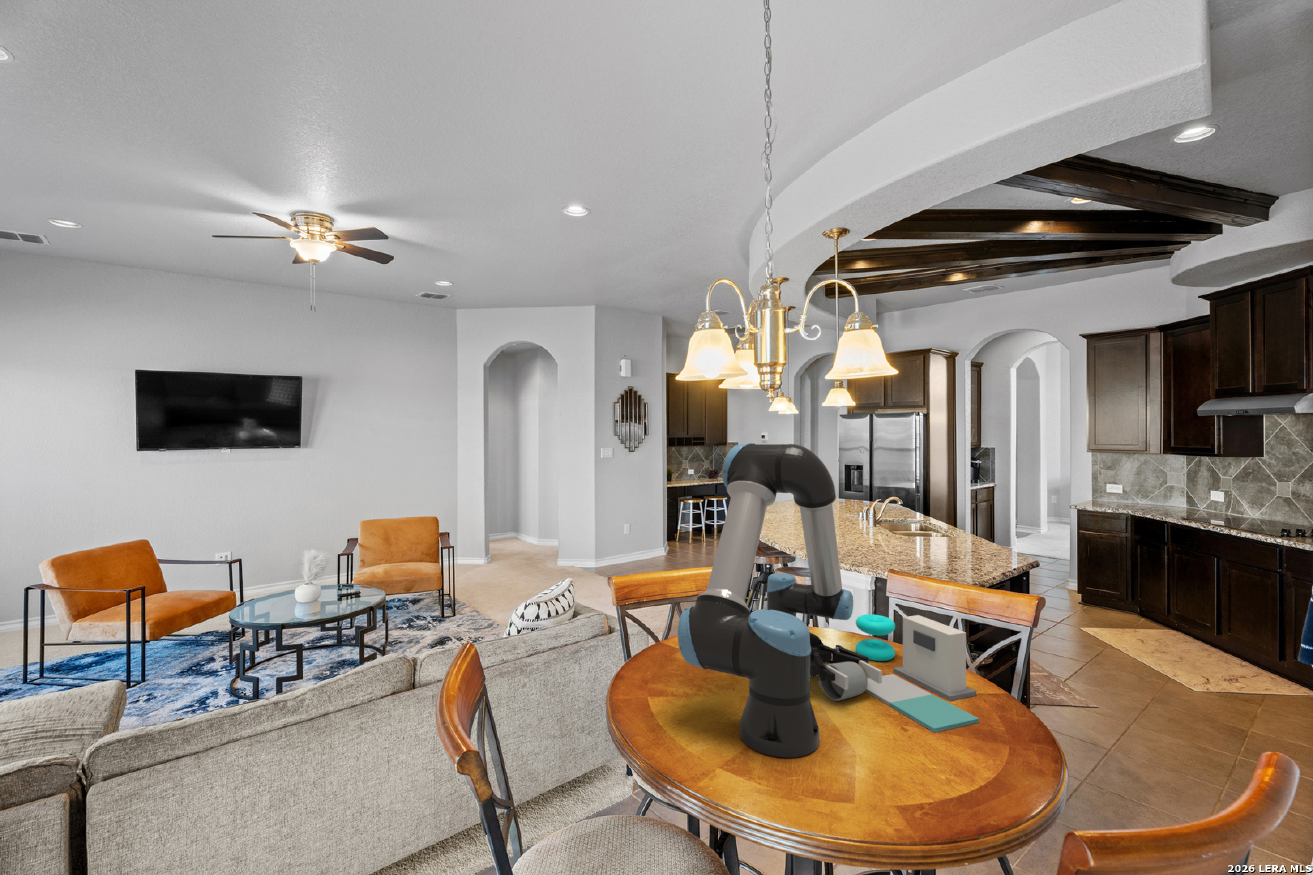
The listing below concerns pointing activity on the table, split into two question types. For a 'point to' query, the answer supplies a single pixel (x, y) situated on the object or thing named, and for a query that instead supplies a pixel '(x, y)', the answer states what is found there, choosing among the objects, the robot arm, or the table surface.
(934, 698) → the mat
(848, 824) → the table surface
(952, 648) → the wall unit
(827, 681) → the ceramic mug
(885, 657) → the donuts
